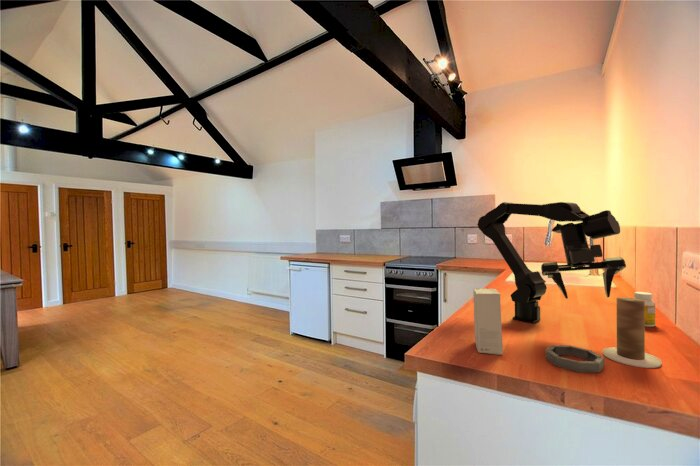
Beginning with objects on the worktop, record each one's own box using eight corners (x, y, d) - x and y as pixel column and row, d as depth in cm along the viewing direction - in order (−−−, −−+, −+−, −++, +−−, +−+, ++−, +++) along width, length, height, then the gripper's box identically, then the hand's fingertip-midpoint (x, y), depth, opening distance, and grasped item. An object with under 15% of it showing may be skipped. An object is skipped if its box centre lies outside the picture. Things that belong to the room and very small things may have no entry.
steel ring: (540, 361, 71) (540, 353, 71) (555, 350, 77) (555, 342, 77) (595, 377, 63) (595, 367, 63) (607, 362, 69) (607, 354, 69)
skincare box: (503, 355, 74) (502, 294, 74) (476, 353, 76) (475, 293, 76) (497, 343, 82) (497, 287, 82) (473, 341, 84) (472, 286, 84)
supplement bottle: (626, 322, 98) (626, 291, 98) (642, 321, 99) (641, 290, 98) (644, 327, 93) (643, 295, 93) (660, 326, 93) (660, 294, 93)
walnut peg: (616, 356, 72) (616, 300, 71) (617, 349, 75) (616, 296, 75) (645, 361, 68) (645, 303, 68) (644, 354, 72) (644, 299, 72)
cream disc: (598, 357, 72) (598, 355, 72) (608, 346, 79) (608, 344, 79) (658, 372, 65) (658, 369, 65) (663, 358, 71) (663, 356, 71)
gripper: (538, 239, 87) (548, 295, 82) (623, 230, 79) (640, 292, 74) (537, 249, 96) (546, 300, 91) (613, 242, 88) (628, 297, 83)
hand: (587, 297), depth 85 cm, fingers open, 9 cm apart
